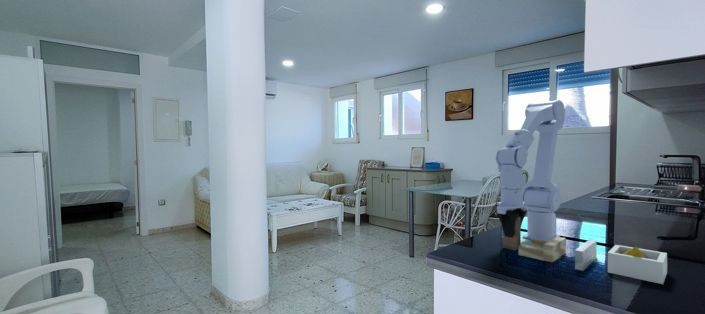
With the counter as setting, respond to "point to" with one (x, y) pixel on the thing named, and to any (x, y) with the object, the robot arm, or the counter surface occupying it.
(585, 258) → the rail
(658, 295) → the counter surface
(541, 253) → the cradle
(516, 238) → the peg
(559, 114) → the robot arm
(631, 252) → the yellow tapered piece
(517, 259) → the counter surface
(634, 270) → the holder
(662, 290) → the counter surface
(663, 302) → the counter surface
